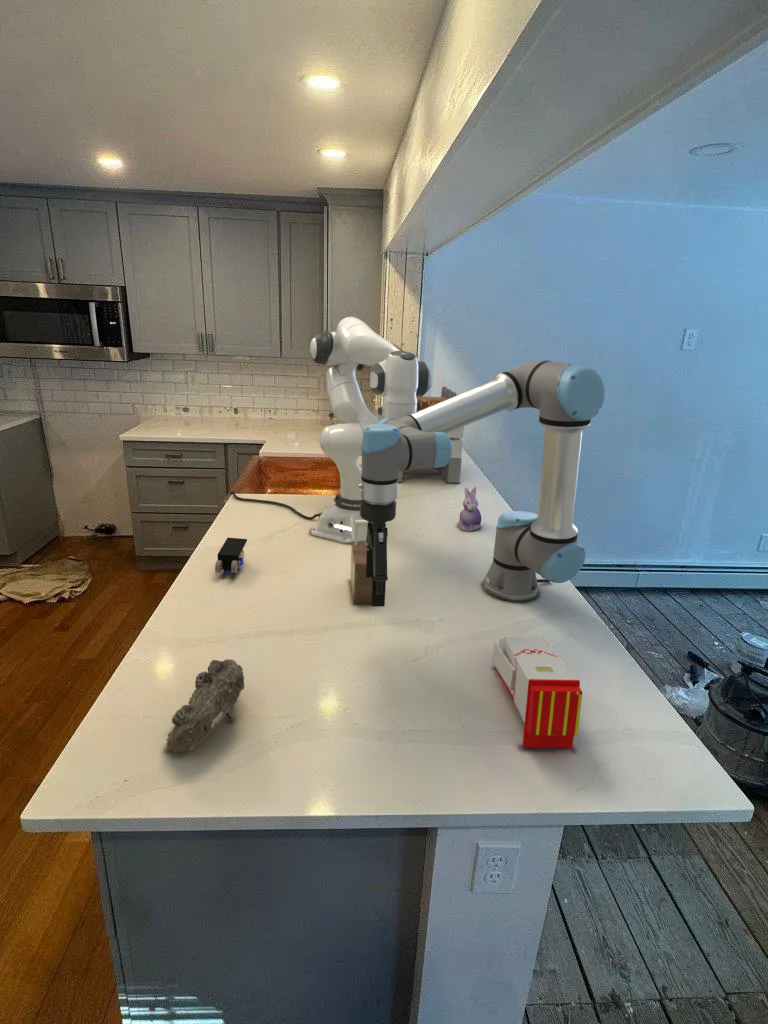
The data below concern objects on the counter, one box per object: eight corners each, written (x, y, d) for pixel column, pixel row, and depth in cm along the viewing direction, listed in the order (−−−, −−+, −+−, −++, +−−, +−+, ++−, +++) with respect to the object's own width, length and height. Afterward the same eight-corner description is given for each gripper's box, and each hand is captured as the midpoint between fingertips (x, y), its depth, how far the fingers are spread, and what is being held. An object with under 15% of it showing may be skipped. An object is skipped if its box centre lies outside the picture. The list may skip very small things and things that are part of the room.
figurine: (467, 533, 203) (471, 493, 198) (451, 523, 211) (454, 485, 206) (488, 529, 207) (492, 490, 202) (471, 520, 215) (475, 482, 210)
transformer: (382, 463, 289) (386, 382, 275) (445, 464, 293) (451, 384, 279) (390, 482, 257) (394, 392, 243) (460, 483, 261) (468, 394, 247)
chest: (350, 580, 164) (351, 546, 161) (368, 580, 165) (369, 546, 161) (353, 604, 151) (354, 568, 148) (373, 603, 152) (374, 567, 148)
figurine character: (238, 584, 162) (249, 557, 175) (236, 562, 158) (247, 536, 172) (215, 584, 161) (227, 556, 175) (212, 561, 158) (225, 535, 171)
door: (351, 545, 162) (352, 516, 159) (369, 545, 162) (370, 516, 159) (354, 567, 148) (355, 536, 145) (374, 567, 148) (376, 536, 145)
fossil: (192, 660, 117) (244, 628, 112) (224, 691, 120) (276, 661, 115) (142, 746, 98) (202, 712, 93) (182, 779, 101) (242, 748, 96)
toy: (540, 620, 128) (592, 687, 99) (535, 674, 131) (584, 755, 102) (487, 619, 128) (523, 686, 99) (483, 673, 131) (517, 754, 101)
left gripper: (430, 418, 149) (426, 469, 154) (393, 406, 166) (391, 452, 171) (409, 419, 146) (406, 471, 151) (373, 407, 163) (372, 454, 168)
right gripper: (356, 481, 129) (353, 566, 136) (365, 521, 106) (362, 620, 113) (388, 482, 130) (384, 566, 137) (405, 520, 107) (399, 619, 114)
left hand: (398, 461), depth 161 cm, fingers open, 8 cm apart
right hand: (374, 590), depth 125 cm, fingers open, 13 cm apart
